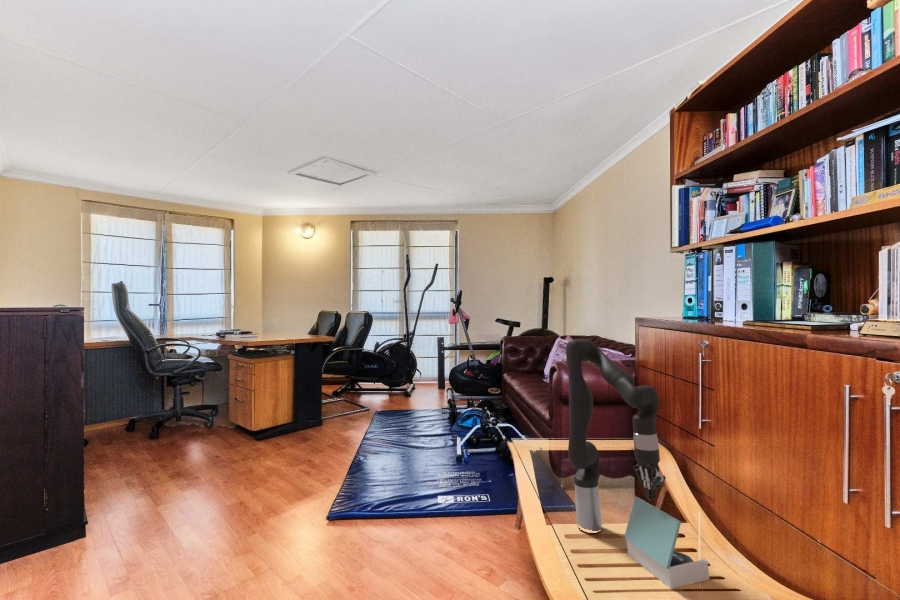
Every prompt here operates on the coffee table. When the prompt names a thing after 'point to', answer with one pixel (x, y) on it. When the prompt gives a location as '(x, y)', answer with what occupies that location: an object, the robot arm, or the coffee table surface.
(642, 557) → the open box
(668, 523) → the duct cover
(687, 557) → the electronic device
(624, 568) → the coffee table surface
